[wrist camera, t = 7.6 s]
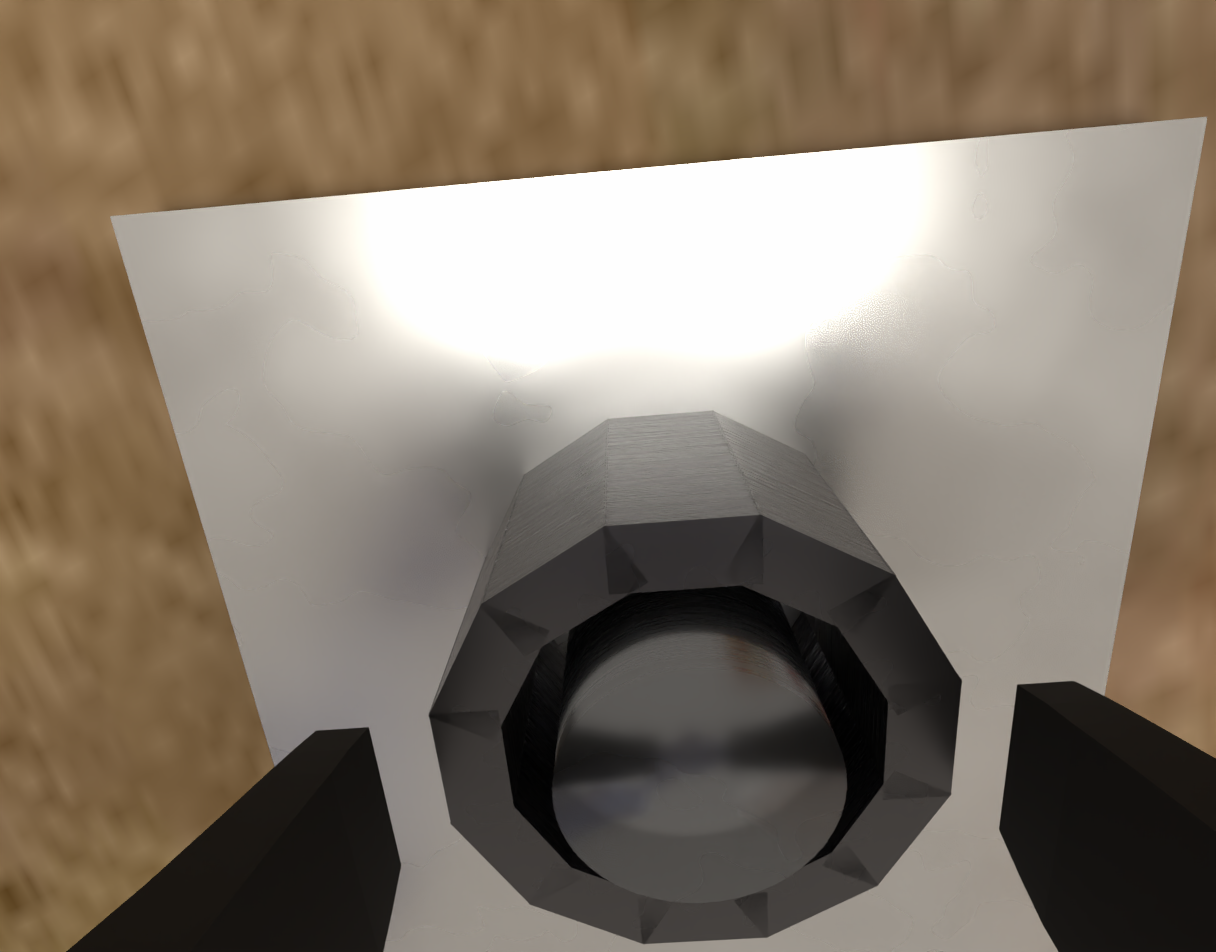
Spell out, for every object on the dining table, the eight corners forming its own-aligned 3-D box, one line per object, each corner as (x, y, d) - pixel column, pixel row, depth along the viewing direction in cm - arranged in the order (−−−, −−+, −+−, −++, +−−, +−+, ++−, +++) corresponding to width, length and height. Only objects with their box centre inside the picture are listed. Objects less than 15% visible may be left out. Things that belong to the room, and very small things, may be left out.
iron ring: (514, 745, 14) (476, 953, 10) (464, 429, 11) (392, 541, 8) (847, 724, 13) (938, 930, 10) (859, 398, 11) (979, 497, 7)
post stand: (401, 1089, 19) (315, 1452, 13) (159, 214, 12) (-245, 228, 6) (1003, 1063, 18) (1167, 1429, 13) (1146, 125, 11) (1666, 52, 6)
